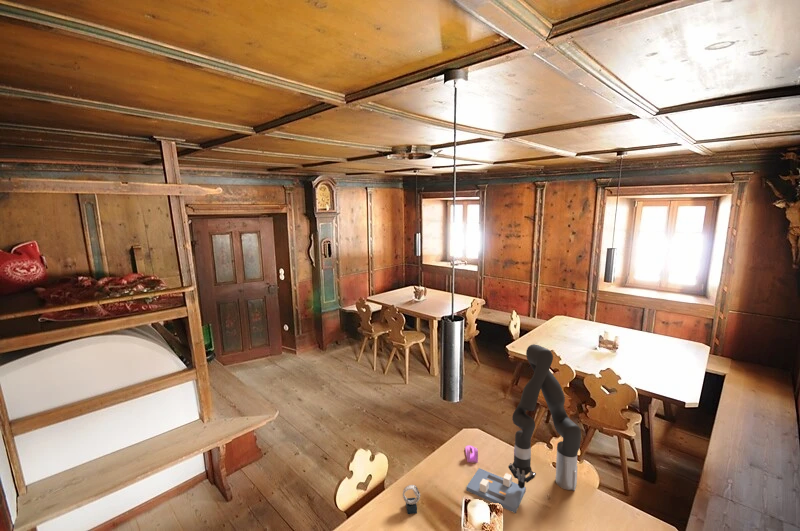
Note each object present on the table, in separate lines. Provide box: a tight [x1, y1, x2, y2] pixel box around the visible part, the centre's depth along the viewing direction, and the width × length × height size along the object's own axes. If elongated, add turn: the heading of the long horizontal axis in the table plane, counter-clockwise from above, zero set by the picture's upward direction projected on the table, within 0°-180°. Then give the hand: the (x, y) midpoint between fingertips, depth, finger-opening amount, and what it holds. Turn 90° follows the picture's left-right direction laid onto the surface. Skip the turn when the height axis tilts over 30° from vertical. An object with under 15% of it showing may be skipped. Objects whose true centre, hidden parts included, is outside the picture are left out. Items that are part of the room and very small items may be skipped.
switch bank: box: [465, 467, 527, 514], centre depth 169 cm, size 24×16×2 cm, turn 55°
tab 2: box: [502, 472, 513, 487], centre depth 171 cm, size 3×4×4 cm
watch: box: [402, 484, 421, 515], centre depth 158 cm, size 6×8×11 cm
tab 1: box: [480, 479, 489, 493], centre depth 167 cm, size 3×4×4 cm
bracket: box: [464, 444, 479, 463], centre depth 196 cm, size 13×6×7 cm, turn 176°
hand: (521, 487), depth 167 cm, fingers closed
